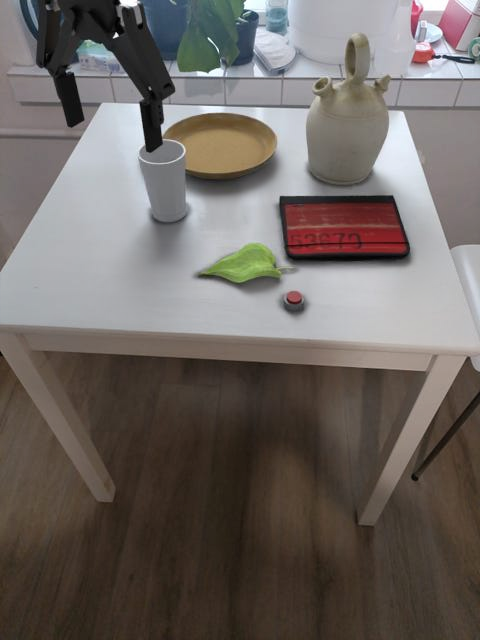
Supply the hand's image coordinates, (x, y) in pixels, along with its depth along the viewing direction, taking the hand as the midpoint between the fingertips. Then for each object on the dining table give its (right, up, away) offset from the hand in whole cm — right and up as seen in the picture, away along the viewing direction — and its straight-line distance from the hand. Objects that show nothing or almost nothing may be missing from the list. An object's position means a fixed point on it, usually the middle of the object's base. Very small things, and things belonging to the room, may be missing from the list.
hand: (114, 135), depth 67 cm
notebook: (+35, -10, +19) cm, 41 cm away
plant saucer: (+13, +10, +36) cm, 40 cm away
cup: (+4, -5, +23) cm, 24 cm away
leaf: (+18, -17, +13) cm, 28 cm away
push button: (+25, -23, +8) cm, 35 cm away
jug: (+37, +5, +32) cm, 50 cm away
